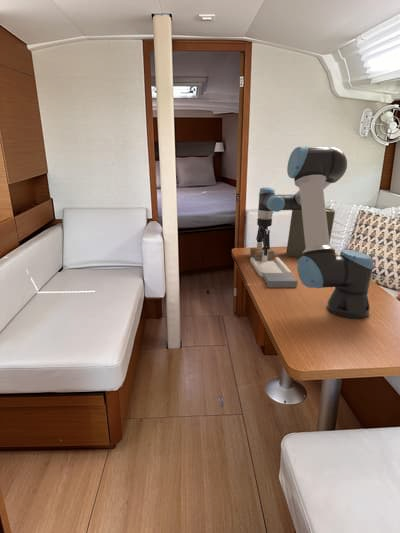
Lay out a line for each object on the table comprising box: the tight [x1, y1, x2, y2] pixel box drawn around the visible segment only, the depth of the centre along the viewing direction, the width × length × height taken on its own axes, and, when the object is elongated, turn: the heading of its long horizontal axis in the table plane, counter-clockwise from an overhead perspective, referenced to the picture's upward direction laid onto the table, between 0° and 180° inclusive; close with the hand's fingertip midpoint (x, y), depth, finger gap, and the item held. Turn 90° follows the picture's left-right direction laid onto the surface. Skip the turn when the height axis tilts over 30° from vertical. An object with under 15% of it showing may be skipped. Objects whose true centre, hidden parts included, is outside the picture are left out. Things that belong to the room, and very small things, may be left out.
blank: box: [249, 246, 275, 261], centre depth 197 cm, size 8×10×6 cm
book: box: [286, 207, 336, 259], centre depth 200 cm, size 22×9×28 cm, turn 79°
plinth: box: [262, 273, 298, 288], centre depth 166 cm, size 10×13×3 cm
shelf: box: [249, 256, 293, 277], centre depth 182 cm, size 22×15×3 cm
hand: (261, 257), depth 198 cm, fingers open, 12 cm apart
